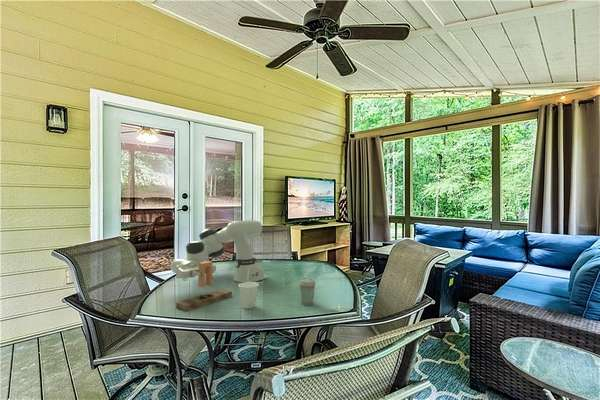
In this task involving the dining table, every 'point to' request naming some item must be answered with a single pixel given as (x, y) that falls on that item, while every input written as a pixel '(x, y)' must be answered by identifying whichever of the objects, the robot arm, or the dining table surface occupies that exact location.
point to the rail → (203, 299)
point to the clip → (208, 273)
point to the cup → (248, 294)
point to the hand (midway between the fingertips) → (206, 272)
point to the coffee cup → (307, 291)
